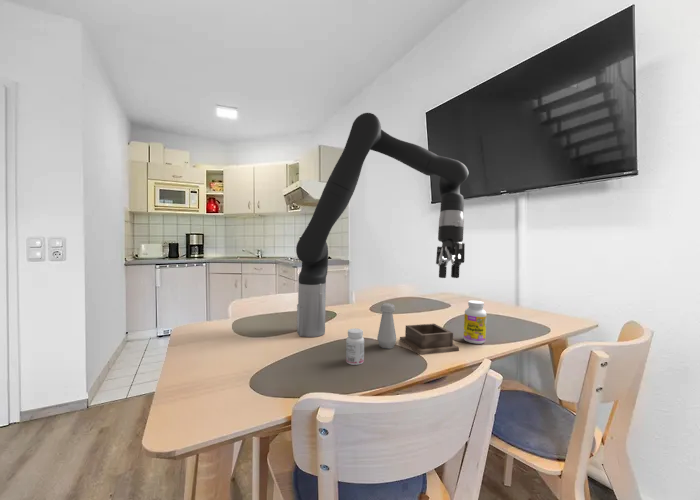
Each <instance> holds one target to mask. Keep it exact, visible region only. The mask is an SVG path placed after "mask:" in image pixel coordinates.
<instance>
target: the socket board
mask: <svg viewBox="0 0 700 500" xmlns="http://www.w3.org/2000/svg"><path fill="white" fill-rule="evenodd" d="M404 331H405V334H404V336H399V341H400V342H402V343H403V344H405V346H407V347H409V348H410V349H411V350H413V351H414V352H415V353H416V354H418V355H428V354H438V353H447V352H448V353H449V352H458V351H459V350H460V347H459V346H458V345H455V344H454V343H453V340H454V332H452V331H450V330H448V329H446V328H444V327H443V326H440V325H438V324H436V323H425V324H424V323H423V324H409V325H408V324H406V325H405V330H404Z"/></svg>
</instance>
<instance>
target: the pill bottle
mask: <svg viewBox="0 0 700 500" xmlns="http://www.w3.org/2000/svg"><path fill="white" fill-rule="evenodd" d="M363 336H364V330H363V329H361V328H353V327H352V328H350V329H348V330H347V337H346V342H345V345H346V348H345V350H346V351H345V362H346V363H347V364H349V365H352V366H359V365H362V364H363V363H364V361H365V338H364V337H363Z"/></svg>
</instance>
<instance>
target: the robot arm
mask: <svg viewBox="0 0 700 500" xmlns="http://www.w3.org/2000/svg"><path fill="white" fill-rule="evenodd" d="M381 125H382V124H381V122H380V120H379V117H377V115H375V114H374V113H372V112H363V113H361V114H360V115H358V116H357V117H356V118H355V119H354V121H353V122H352V126H351V127H350V128H351V129H350V132H349V134H348V137H347V140H346V143H345V146H344V148H343V151H342V153H341V154H340V156H339V158H338V160H337V161H336V164H335V166H334V167H333V170H332V171H331V173H330V176H329V177H328V179H327V181H326V184H325V186H324V188H323V190H322V192H321V195H320V197H319V200H318V202H317V204H316V207H315V209H314V212H313V215H312V217H311V218H310V221H309V222H308V224H307V226H306V228H305V230H304V231H303V233H302V235H301V236H300V238H299V239H298V242H297V244H296V247H295V248H296V249H295V250H296V256H297V258H298V260H299V261H301V270H300V273H299V274H298V280H297V281H298V283H297V284H298V287H297V289H298V292H297V294H298V297H297V300H298V303H297V304H296V306H297V307H296V332H297V335H298V336H299V337H305V338H306V337H309V338H315V337H320V336H323V335H324V334H325V333H326V298H327V297H326V296H327V295H326V294H327V293H326V292H327V291H326V288H327V286H326V285H327V275H328V269H329V267H328V266H329V247H328V243H327V240H328V237H329V234H330V233H331V230H332V229H333V227H334V225H335V224H336V222H337V221H338V220H339V218H341V216H342V214H344V211H345V210H346V209H347V207H348V206H349V203H350V201H351V198H352V197H353V195H354V193H355V190H356V187H357V185H358V182H359V179H360V176H361V172H362V168H363V165H364V162H365V160H366V158H367V156H368V154H369V153H370V151H374V152H377V153H379V154H382V155H385V156H388V157H389V158H392V159H394V160H396V161H398V162H400V163H402V164H403V165H405V166H408V167H409V168H412V169H413V170H415V171H417V172H419V173H422V174H423V175H425V176H434V175H435V176H437V177H439V182H438V183H439V184H438V185H439V194H440V212H439V213H440V214H439V218H438V231H437V233H438V234H437V241H439V242H441V243H442V244H441V246H440V245H439V246H438V245H437V247H436V248H437V249H436V257H435V258H436V260H435V264H436V265H438V267H439V268H438V278H439V279H445V278H447V266H448V264H449V262H451V271H450V278H453V279H459V277H460V266H461V265H462V264H464V263H465V247H466V245H465V244H466V243H465V242H463V240H464V227H465V226H464V224H465V217H464V210H465V209H464V207H465V206H464V205H465V204H464V203H465V199H464V198H465V197H464V195H462V194H461V185H463V183H464V182H465V181H467V179H468V177H469V170H468V167H467V166H466V165H465V164H464V163H463V162H461V161H459V160H458V159H453V158H450V157H446V156H443V155H442V156H441V155H437V154H436V153H434V152H432V151H431V150H429V149H427V148H424V147H422V146H419V145H418V144H415V143H411V142H407V141H404V140H401V139H398V138H396V137H394V136H392V135H390V134H389V133H387V132H386V131H384V130H383V129H382V126H381Z"/></svg>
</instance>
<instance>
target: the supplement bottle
mask: <svg viewBox="0 0 700 500" xmlns="http://www.w3.org/2000/svg"><path fill="white" fill-rule="evenodd" d="M467 304H468V308H466V309H465V310H464V317H463V319H464V321H463V322H464V323H463V339H464V341H466V342H468V343H471V344H477V345H479V344H484V343H485V342H486V337H487V336H486V335H487V334H486V333H487V311H486V310H485V309H484V306H485V305H484V304H485V302H484V301H481V300H480V301H479V300H468V301H467Z"/></svg>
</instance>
